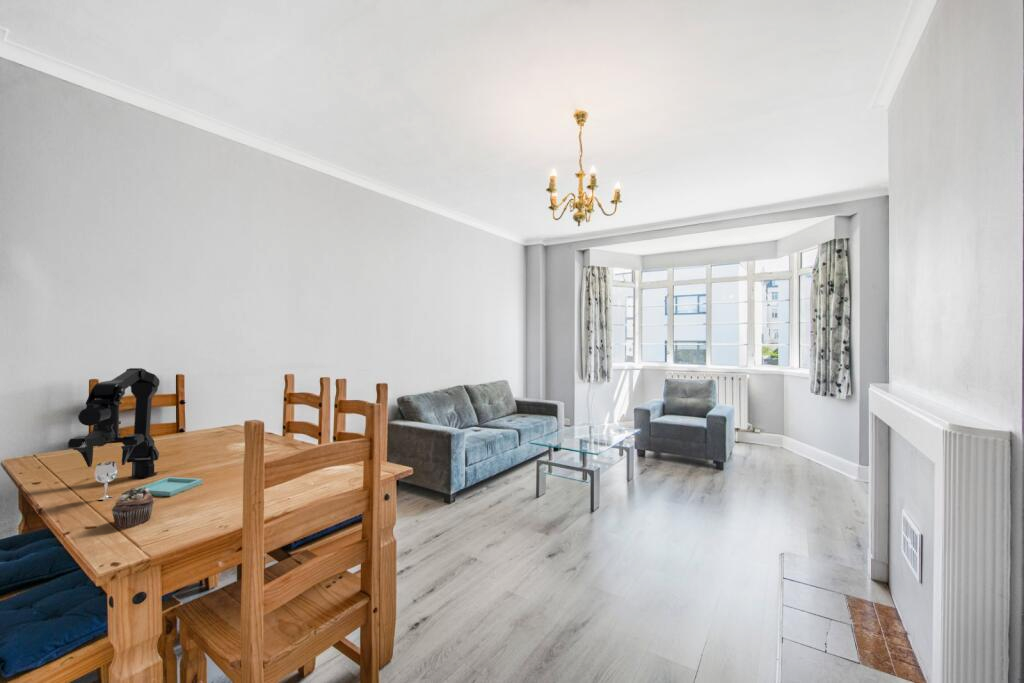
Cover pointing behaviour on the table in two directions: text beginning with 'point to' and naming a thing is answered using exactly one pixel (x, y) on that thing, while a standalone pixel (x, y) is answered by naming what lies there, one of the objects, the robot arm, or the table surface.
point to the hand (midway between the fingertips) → (106, 465)
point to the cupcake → (133, 508)
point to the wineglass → (106, 474)
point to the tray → (171, 486)
